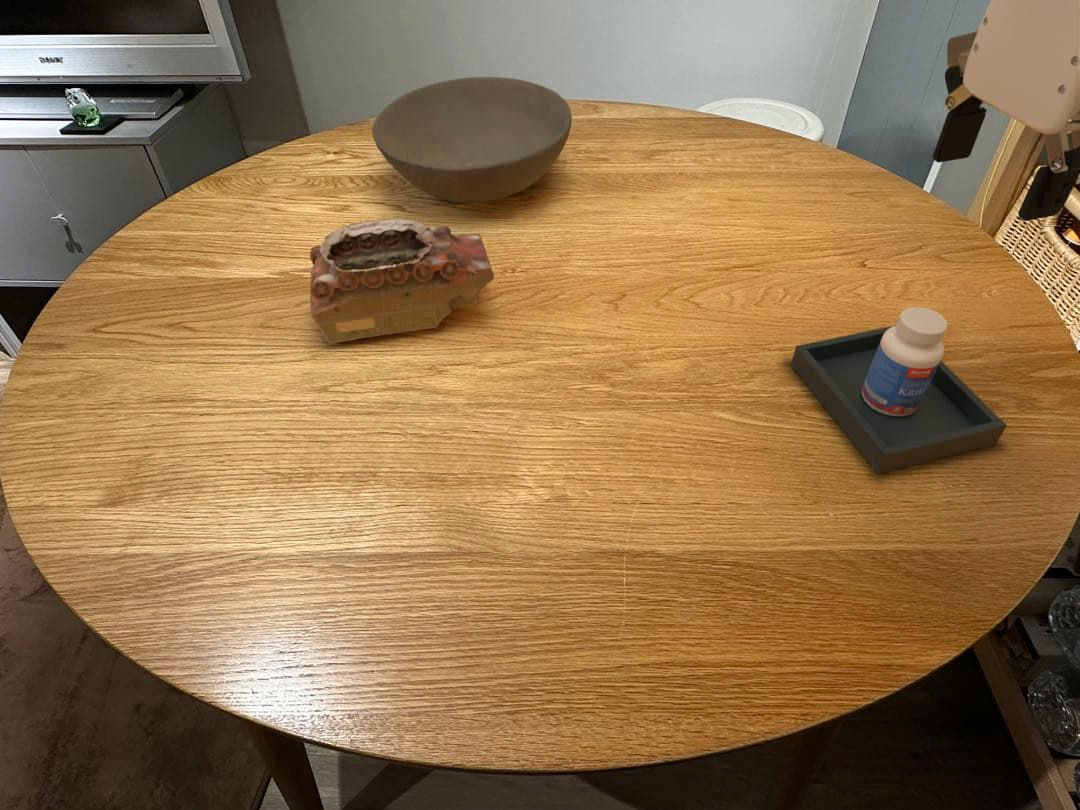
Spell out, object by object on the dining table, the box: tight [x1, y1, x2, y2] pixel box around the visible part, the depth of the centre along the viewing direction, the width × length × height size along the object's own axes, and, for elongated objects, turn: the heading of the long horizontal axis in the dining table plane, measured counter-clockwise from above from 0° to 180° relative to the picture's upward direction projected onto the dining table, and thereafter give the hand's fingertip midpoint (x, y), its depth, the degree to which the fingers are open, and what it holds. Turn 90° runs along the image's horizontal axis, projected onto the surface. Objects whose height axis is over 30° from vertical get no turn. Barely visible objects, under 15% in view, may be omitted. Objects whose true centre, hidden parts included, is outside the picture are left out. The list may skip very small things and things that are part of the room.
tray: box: [790, 324, 1008, 475], centre depth 75 cm, size 16×13×3 cm
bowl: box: [371, 76, 573, 205], centre depth 105 cm, size 26×26×10 cm
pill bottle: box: [862, 306, 948, 417], centre depth 72 cm, size 6×5×10 cm
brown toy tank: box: [309, 217, 495, 345], centre depth 84 cm, size 13×20×10 cm, turn 96°
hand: (991, 186), depth 60 cm, fingers open, 9 cm apart
